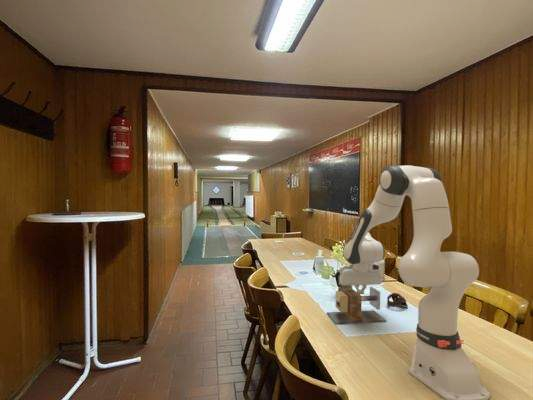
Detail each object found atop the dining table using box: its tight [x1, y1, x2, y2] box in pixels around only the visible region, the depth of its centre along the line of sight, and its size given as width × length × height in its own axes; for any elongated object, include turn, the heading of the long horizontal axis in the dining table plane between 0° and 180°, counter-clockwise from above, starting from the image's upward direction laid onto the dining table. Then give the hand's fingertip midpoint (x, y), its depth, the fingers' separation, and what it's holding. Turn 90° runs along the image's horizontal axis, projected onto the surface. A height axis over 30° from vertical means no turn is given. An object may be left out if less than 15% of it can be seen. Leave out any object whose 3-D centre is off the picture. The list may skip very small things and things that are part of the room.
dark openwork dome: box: [386, 292, 409, 309], centre depth 158 cm, size 12×10×8 cm
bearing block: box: [326, 288, 387, 325], centre depth 143 cm, size 24×12×12 cm, turn 97°
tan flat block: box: [335, 290, 348, 313], centre depth 142 cm, size 3×7×7 cm, turn 7°
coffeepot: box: [334, 269, 353, 292], centre depth 171 cm, size 15×9×18 cm, turn 129°
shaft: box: [334, 286, 381, 310], centre depth 143 cm, size 20×8×8 cm, turn 97°
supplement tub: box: [373, 258, 386, 282], centre depth 210 cm, size 12×12×17 cm
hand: (360, 293), depth 146 cm, fingers closed
